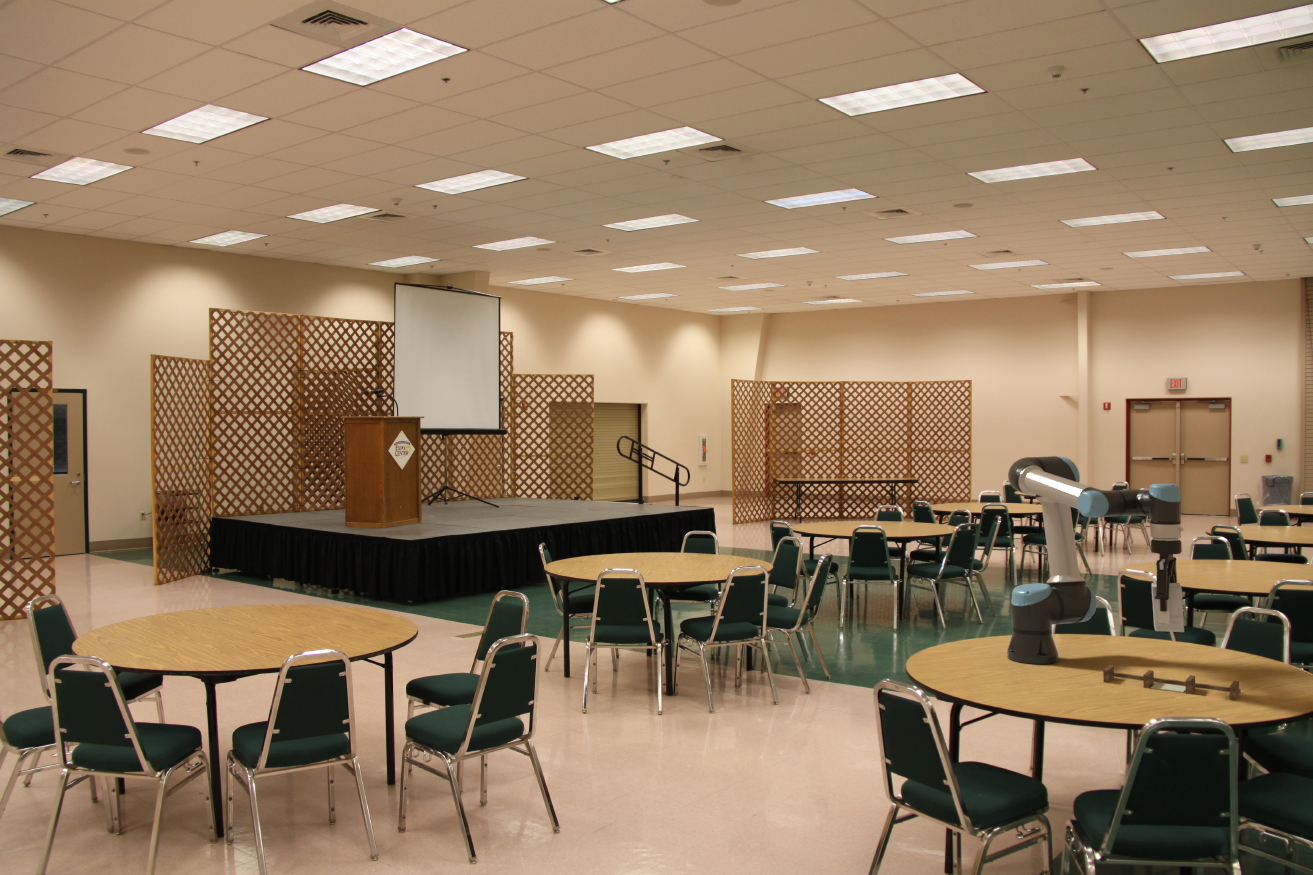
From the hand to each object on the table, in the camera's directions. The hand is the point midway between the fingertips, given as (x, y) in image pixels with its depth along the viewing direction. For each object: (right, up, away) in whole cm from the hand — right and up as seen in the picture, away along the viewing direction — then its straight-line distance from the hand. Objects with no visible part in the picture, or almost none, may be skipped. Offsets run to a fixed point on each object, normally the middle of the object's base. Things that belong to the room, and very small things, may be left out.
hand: (1167, 620), depth 259 cm
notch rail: (+1, -19, +1) cm, 19 cm away
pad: (0, -19, 0) cm, 19 cm away
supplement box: (0, -3, 0) cm, 3 cm away
